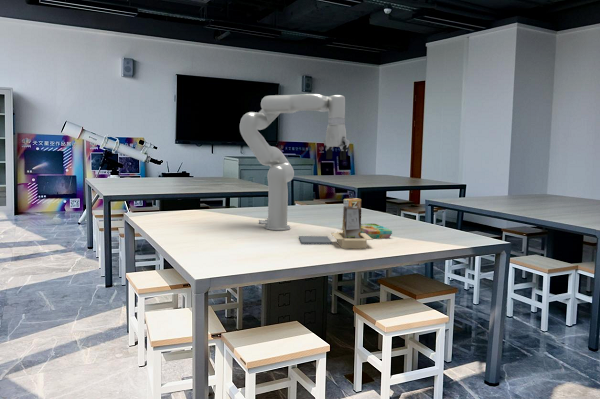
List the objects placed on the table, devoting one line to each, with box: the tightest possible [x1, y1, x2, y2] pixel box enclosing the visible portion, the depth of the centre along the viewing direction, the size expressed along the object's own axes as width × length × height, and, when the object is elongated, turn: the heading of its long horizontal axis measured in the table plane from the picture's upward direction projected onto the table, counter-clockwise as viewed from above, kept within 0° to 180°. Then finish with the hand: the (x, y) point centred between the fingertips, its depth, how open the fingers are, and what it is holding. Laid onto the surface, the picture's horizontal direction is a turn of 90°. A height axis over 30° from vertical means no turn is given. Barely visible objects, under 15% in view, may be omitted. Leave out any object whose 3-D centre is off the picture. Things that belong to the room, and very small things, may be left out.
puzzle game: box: [361, 223, 393, 239], centre depth 237 cm, size 12×5×20 cm
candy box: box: [341, 197, 362, 230], centre depth 249 cm, size 9×4×15 cm, turn 129°
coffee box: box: [342, 206, 362, 238], centre depth 211 cm, size 9×6×16 cm
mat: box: [298, 235, 333, 245], centre depth 217 cm, size 13×13×1 cm
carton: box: [330, 231, 374, 249], centre depth 211 cm, size 15×18×4 cm
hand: (336, 159), depth 233 cm, fingers open, 9 cm apart
